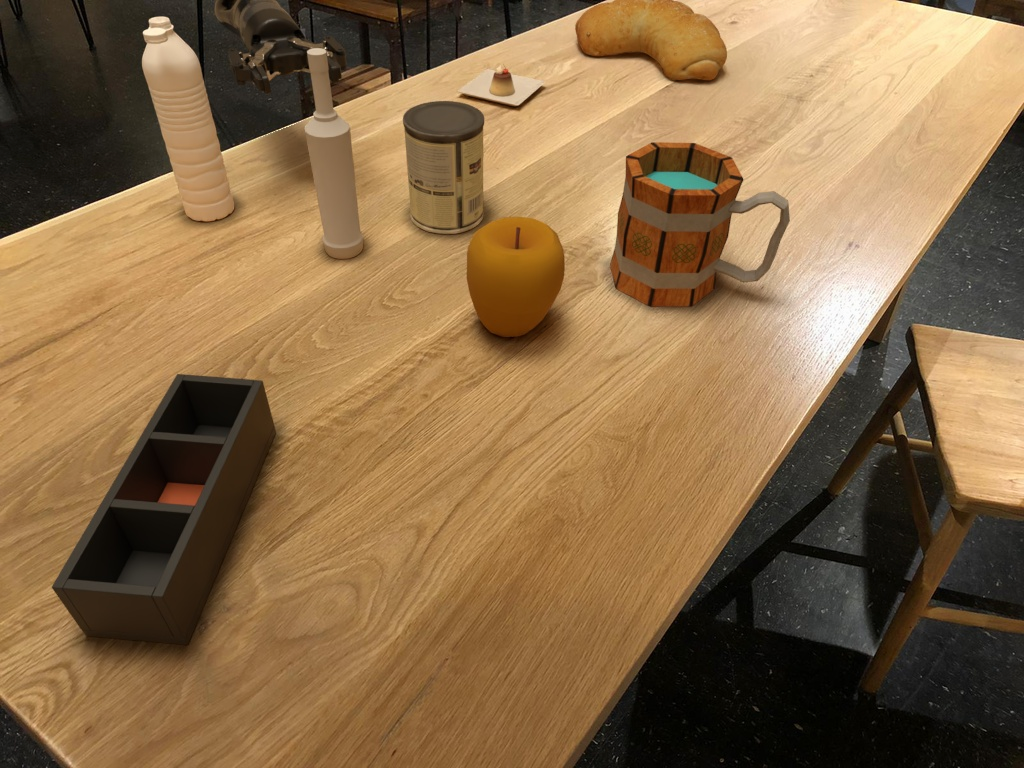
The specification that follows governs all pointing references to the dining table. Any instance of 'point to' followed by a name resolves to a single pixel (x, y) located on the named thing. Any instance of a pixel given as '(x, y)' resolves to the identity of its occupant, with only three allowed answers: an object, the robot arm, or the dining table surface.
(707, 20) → the bread
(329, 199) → the bottle
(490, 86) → the dessert
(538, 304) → the apple
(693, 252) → the mug
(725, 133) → the dining table surface
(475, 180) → the coffee can
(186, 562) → the rack
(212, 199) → the water bottle
